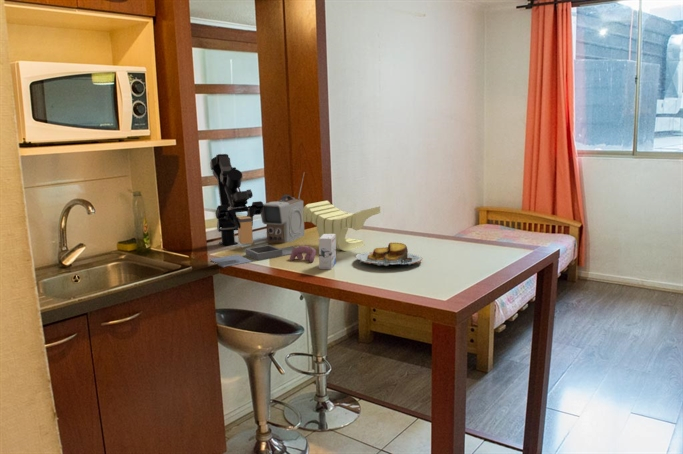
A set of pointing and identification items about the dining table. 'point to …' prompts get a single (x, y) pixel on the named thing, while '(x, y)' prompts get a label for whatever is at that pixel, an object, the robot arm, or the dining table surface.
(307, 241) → the dining table surface
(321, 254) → the ink box
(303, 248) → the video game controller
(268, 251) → the case
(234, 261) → the mat
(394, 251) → the food on plate
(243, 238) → the block
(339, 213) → the slatted curved stool
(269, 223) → the portable television
